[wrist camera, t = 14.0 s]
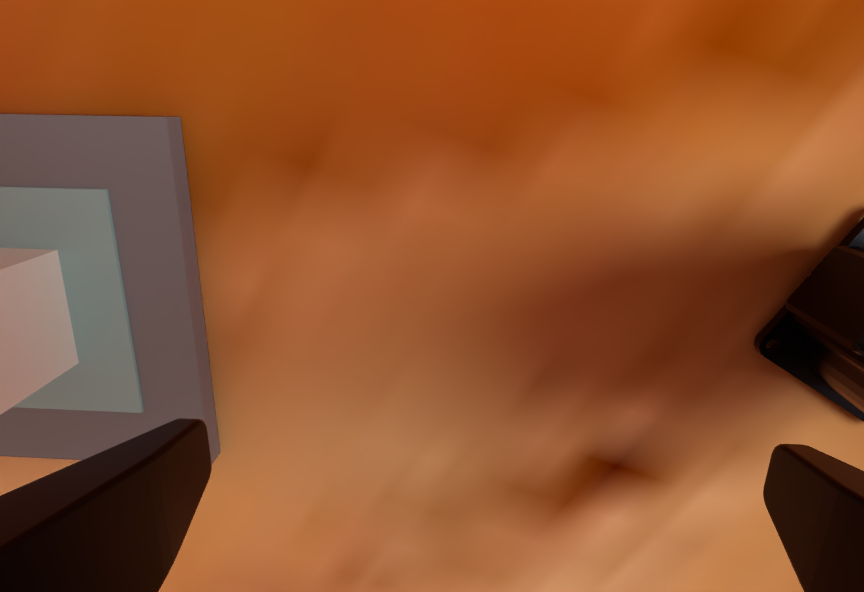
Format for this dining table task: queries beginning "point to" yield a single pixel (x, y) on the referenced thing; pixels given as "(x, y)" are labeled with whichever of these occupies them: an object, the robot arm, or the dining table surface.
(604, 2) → the dining table surface
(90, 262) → the pad
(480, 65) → the dining table surface
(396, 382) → the dining table surface
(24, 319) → the block
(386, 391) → the dining table surface
